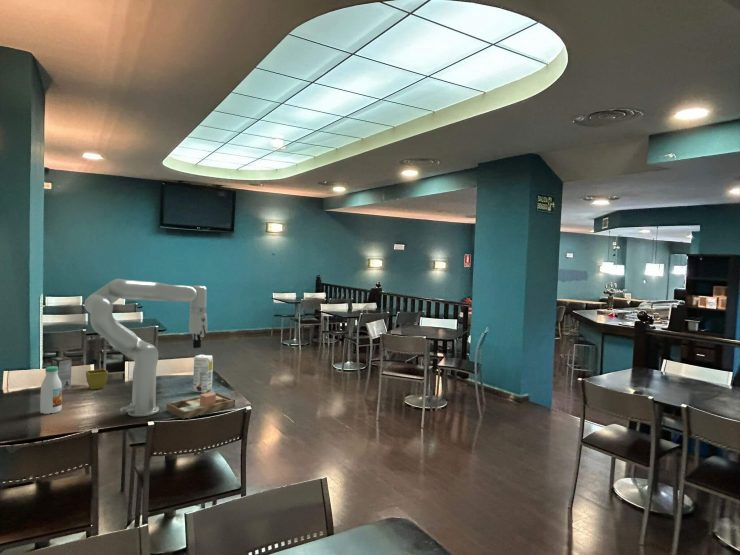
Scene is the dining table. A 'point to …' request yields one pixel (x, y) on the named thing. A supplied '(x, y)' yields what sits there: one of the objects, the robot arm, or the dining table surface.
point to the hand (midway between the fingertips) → (196, 347)
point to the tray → (198, 406)
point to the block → (207, 399)
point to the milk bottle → (51, 392)
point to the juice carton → (202, 373)
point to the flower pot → (96, 378)
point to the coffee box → (63, 370)
